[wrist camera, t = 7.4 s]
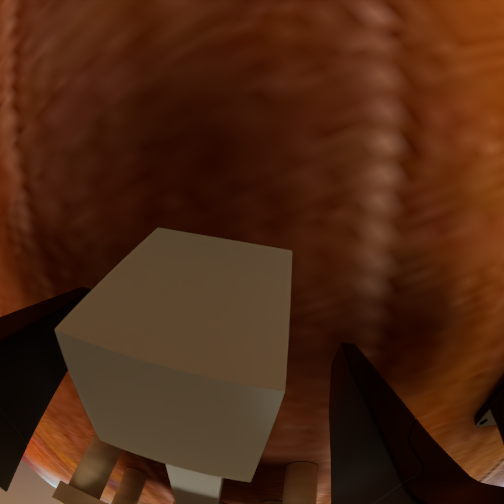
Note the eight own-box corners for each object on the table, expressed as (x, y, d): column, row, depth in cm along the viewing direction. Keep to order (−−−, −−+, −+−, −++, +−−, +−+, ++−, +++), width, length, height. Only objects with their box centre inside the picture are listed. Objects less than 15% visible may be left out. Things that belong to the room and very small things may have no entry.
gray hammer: (292, 250, 9) (284, 391, 4) (231, 493, 17) (220, 548, 13) (157, 227, 9) (54, 328, 4) (179, 481, 18) (162, 535, 13)
